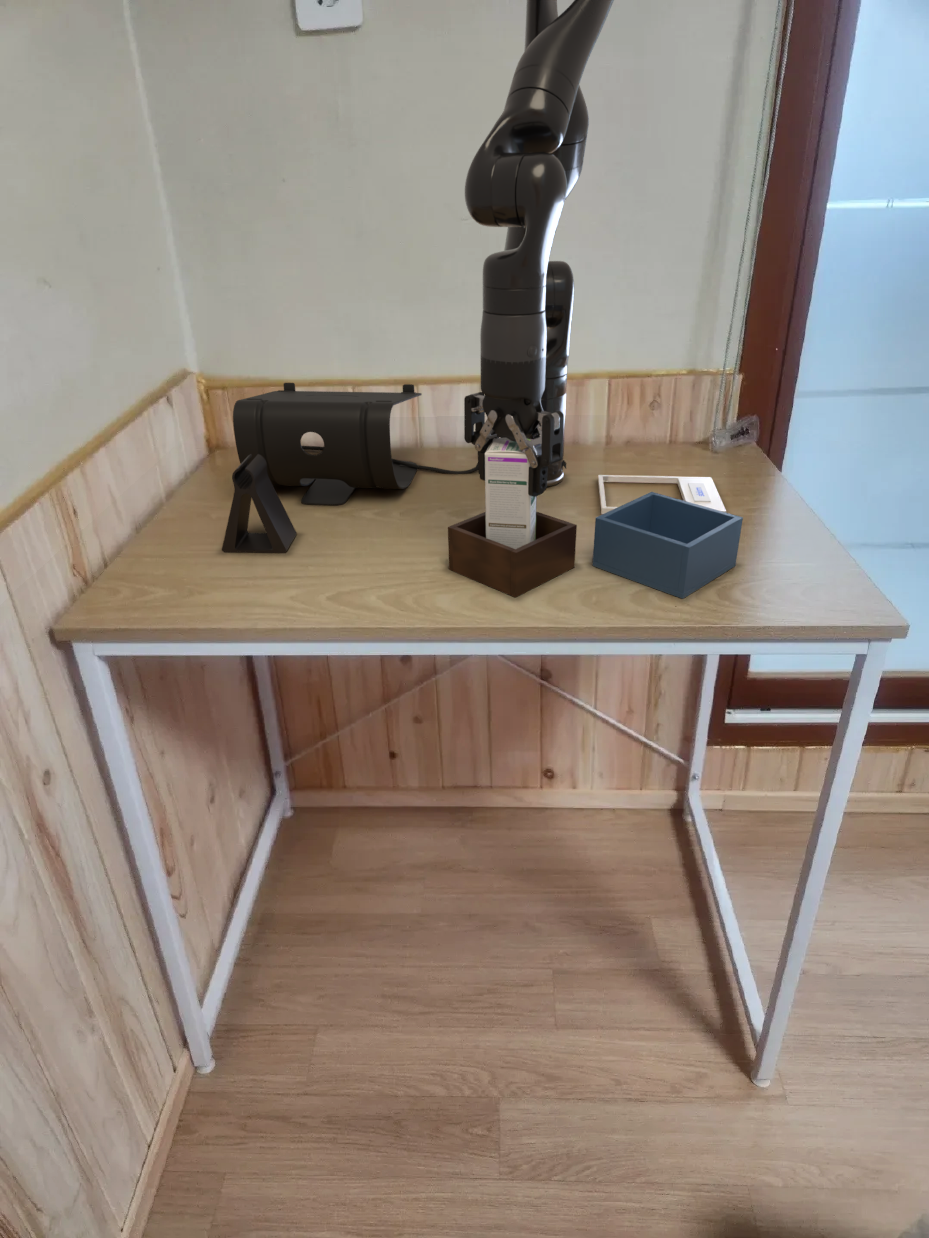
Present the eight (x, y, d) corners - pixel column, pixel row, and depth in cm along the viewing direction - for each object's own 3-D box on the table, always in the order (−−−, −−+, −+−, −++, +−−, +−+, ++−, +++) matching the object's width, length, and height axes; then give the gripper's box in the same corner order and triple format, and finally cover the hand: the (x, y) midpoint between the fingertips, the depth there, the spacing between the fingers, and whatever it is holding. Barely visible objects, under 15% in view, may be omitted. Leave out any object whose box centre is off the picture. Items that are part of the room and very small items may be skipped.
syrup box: (530, 564, 106) (533, 453, 99) (483, 560, 107) (484, 450, 100) (535, 545, 111) (539, 438, 104) (491, 542, 112) (492, 435, 105)
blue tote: (592, 566, 110) (595, 517, 107) (647, 537, 118) (651, 491, 115) (682, 599, 102) (689, 547, 98) (735, 566, 110) (743, 517, 106)
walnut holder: (448, 569, 110) (447, 526, 107) (508, 542, 117) (508, 502, 114) (515, 597, 103) (516, 552, 100) (574, 567, 110) (576, 524, 107)
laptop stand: (238, 506, 131) (223, 406, 123) (284, 457, 151) (273, 369, 144) (400, 511, 128) (395, 409, 120) (425, 460, 148) (422, 371, 141)
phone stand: (297, 535, 120) (287, 454, 114) (286, 553, 115) (275, 469, 109) (235, 534, 121) (222, 453, 115) (222, 552, 116) (207, 468, 110)
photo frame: (726, 510, 123) (601, 507, 125) (725, 517, 124) (601, 514, 125) (711, 476, 136) (598, 473, 137) (710, 482, 136) (597, 480, 138)
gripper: (583, 355, 94) (575, 493, 103) (490, 337, 103) (490, 465, 111) (539, 367, 90) (535, 510, 98) (446, 347, 99) (449, 480, 107)
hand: (511, 486), depth 105 cm, fingers closed on syrup box, 7 cm apart
